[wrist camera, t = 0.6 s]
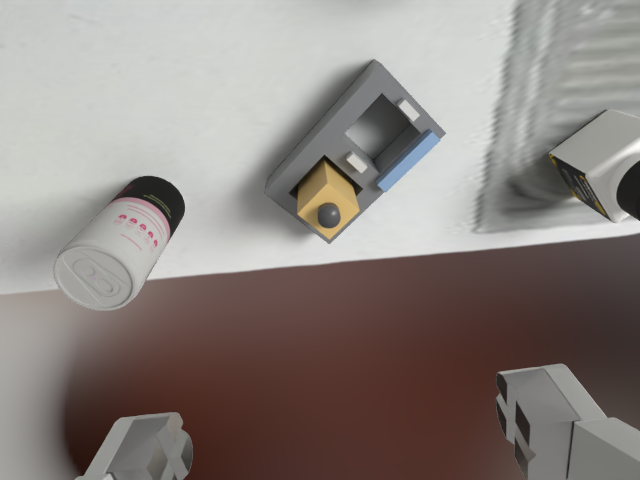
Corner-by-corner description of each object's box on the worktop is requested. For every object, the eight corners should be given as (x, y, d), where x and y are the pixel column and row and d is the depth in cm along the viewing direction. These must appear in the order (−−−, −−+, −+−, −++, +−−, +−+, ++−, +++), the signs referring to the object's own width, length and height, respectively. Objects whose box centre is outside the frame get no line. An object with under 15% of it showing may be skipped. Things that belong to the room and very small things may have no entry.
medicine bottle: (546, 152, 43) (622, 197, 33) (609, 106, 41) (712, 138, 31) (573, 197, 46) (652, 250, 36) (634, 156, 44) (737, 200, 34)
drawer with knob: (298, 178, 44) (297, 220, 35) (323, 151, 43) (328, 188, 34) (325, 200, 45) (330, 246, 36) (349, 175, 44) (361, 216, 35)
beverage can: (154, 237, 47) (97, 324, 34) (112, 194, 44) (32, 270, 31) (198, 210, 45) (155, 289, 32) (157, 163, 42) (92, 229, 29)
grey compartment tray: (267, 178, 44) (263, 197, 39) (374, 59, 38) (383, 65, 34) (327, 227, 47) (329, 249, 43) (434, 123, 41) (449, 136, 37)
